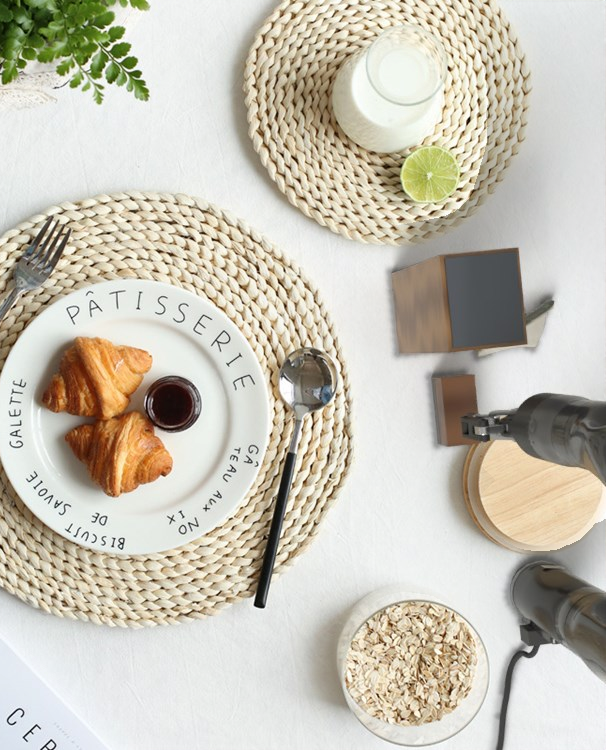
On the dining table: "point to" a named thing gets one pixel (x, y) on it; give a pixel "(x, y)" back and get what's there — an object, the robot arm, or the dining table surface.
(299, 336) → the dining table surface
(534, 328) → the ceramic fragment
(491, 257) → the pad
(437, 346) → the stand
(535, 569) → the robot arm
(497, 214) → the dining table surface
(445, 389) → the brown wooden block
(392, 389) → the dining table surface
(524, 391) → the dining table surface
